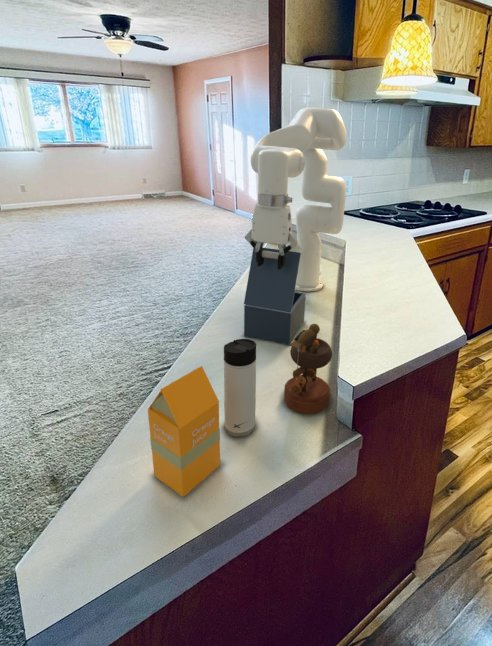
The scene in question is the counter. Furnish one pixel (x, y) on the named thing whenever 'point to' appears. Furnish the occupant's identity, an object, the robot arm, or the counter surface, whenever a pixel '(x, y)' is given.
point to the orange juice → (185, 432)
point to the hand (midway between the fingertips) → (270, 265)
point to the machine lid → (272, 281)
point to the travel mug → (239, 387)
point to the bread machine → (275, 321)
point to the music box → (308, 373)
